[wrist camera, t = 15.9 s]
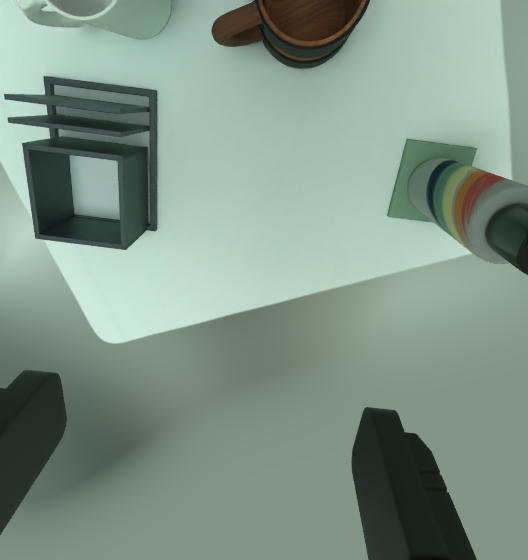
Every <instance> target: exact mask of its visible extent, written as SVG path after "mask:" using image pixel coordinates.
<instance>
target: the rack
mask: <svg viewBox="0 0 528 560" xmlns="http://www.w3.org/2000/svg"><path fill="white" fill-rule="evenodd" d="M53 84H56V85H63V86H71V87H79V88H87V89H95V90H102V91H110V92H118V93H126V94H133V95H141V96H149V107H143V106H136V105H128V104H120V103H112V102H104V101H97V100H89V99H81V98H73V97H65V96H58V95H54V90H53ZM44 85H45V94H46V95H24V94H4V97H5V99H7V100H14V101H22V102H30V103H38V104H46V105H47V113H48V115H42V116H26V117H9V118H8V122H9V123H16V124H24V125H31V126H39V127H47V128H49V131H50V139H44V140H38V141H32V142H26V143H22V146H23V153H24V160H25V168H26V175H27V182H28V189H29V196H30V203H31V211H32V218H33V225H34V232H35V238H36V239H43V240H51V241H59V242H67V243H75V244H83V245H91V246H99V247H107V248H115V249H123V250H126V249H127V248H128V247H130V246H131V245H132V244H133V243H134V242H135V241H136V240H137V239H138V238H139V237H140V236H141V235H142V234H143V233H144V232H145V231H146V230H149V231H156V230H157V91H155V90H147V89H140V88H132V87H124V86H116V85H108V84H101V83H93V82H85V81H77V80H70V79H62V78H54V77H46V76H44ZM55 106H61V107H69V108H77V109H85V110H93V111H100V112H108V113H116V114H126V113H138V112H149V115H150V126H144V125H136V124H128V123H120V122H112V121H104V120H96V119H89V118H81V117H73V116H65V115H56V109H55ZM58 129H63V130H71V131H79V132H86V133H94V134H102V135H110V136H118V137H122V136H127V135H131V134H136V133H140V132H145V131H149V130H150V224H148V161H147V147H141V146H133V145H126V144H118V143H110V142H102V141H94V140H86V139H78V138H70V137H58ZM69 155H76V156H84V157H92V158H100V159H108V160H116V161H118V180H119V204H120V220H112V219H104V218H96V217H88V216H80V215H74V209H73V198H72V188H71V177H70V166H69Z"/></svg>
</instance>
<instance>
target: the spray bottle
mask: <svg viewBox="0 0 528 560" xmlns="http://www.w3.org/2000/svg"><path fill="white" fill-rule="evenodd" d="M408 196H409V199H410V201H411V203H412V204H413V205H414V206H415V207H416V208H417V209H418V210H419V211H420V212H421V213H423V214H424V215H425V216H426V217H428V218H429V219H430V220H431V221H433V222H434V223H435V224H437V225H438V226H439V227H440V228H442V229H443V230H444V231H445V232H447V233H448V234H449V235H450V236H452V237H453V238H454V239H455V240H457V241H458V242H459V243H460V244H462V245H463V246H464V247H465V248H467V249H468V250H469V251H470V252H472V253H473V254H474V255H476V256H478V257H479V258H480V259H482V260H484V261H486V262H489V263H494V264H508V263H511V264H512V265H514V266H515V267H516V268H518V269H519V270H520V271H522V272H523V273H525V274H527V275H528V186H526V185H523V184H520V183H517V182H515V181H512V180H509V179H506V178H503V177H500V176H497V175H494V174H491V173H489V172H486V171H483V170H480V169H477V168H474V167H471V166H468V165H465V164H463V163H460V162H457V161H454V160H450V159H446V158H434V159H430V160H428V161H426V162H424V163H422V164H421V165H419V166H418V167H417V168H416V169H415V171H414V172H413V173H412V175H411V177H410V179H409V182H408Z"/></svg>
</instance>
